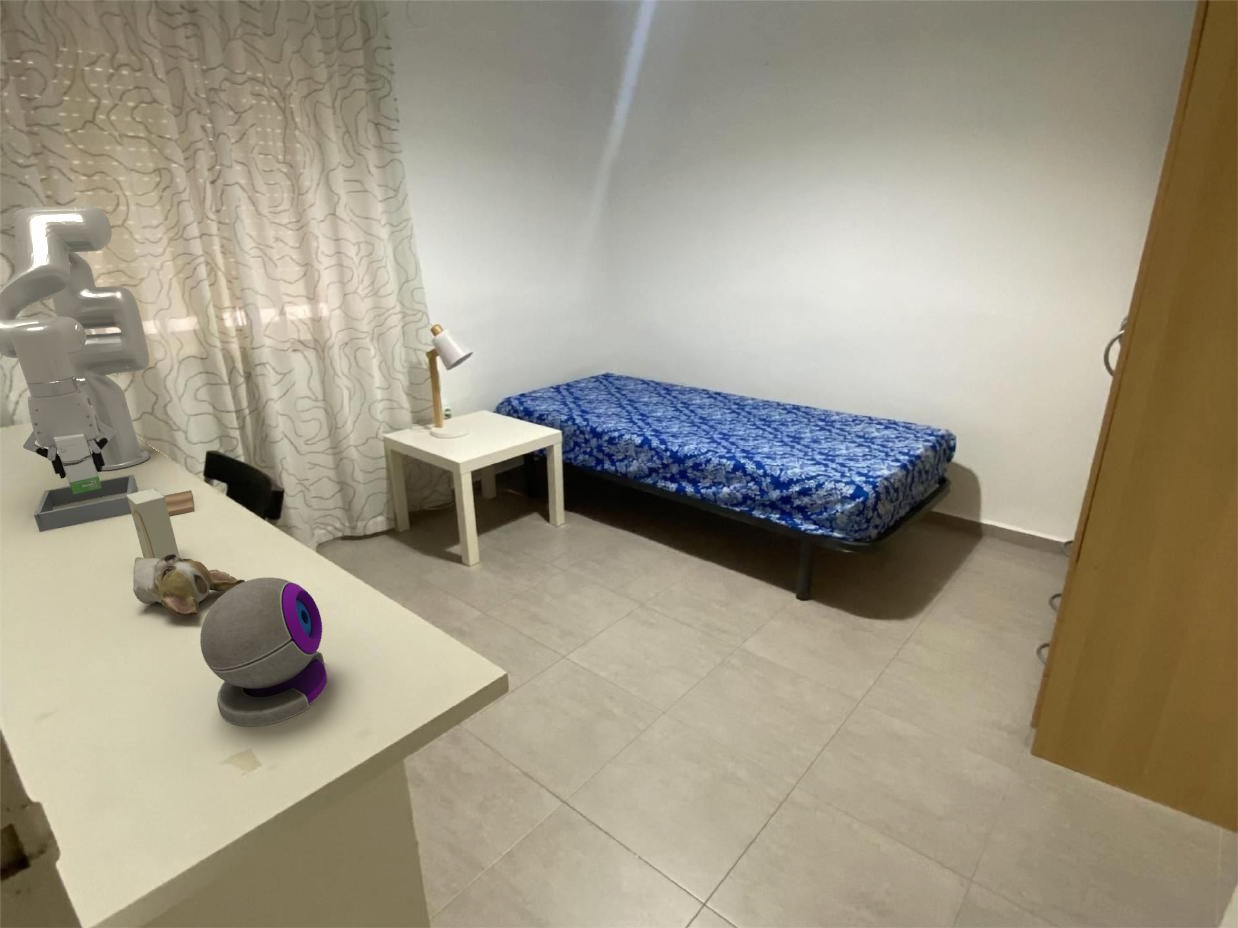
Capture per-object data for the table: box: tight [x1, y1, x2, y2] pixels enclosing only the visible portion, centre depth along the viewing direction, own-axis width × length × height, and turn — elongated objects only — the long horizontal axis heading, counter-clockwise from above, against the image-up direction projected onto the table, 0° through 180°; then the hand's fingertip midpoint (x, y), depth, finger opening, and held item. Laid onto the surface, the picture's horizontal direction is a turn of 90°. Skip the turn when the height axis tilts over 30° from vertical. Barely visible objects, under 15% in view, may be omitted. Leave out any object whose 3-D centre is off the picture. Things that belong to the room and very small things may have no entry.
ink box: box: [53, 434, 101, 494], centre depth 139 cm, size 9×5×12 cm, turn 39°
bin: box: [33, 474, 139, 532], centre depth 142 cm, size 16×16×4 cm
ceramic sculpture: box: [132, 554, 246, 618], centre depth 104 cm, size 11×9×15 cm
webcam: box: [200, 577, 328, 727], centre depth 82 cm, size 13×13×15 cm
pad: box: [163, 489, 195, 517], centre depth 142 cm, size 11×9×1 cm
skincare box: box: [126, 487, 181, 559], centre depth 118 cm, size 6×4×12 cm
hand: (81, 472), depth 140 cm, fingers closed on ink box, 5 cm apart
